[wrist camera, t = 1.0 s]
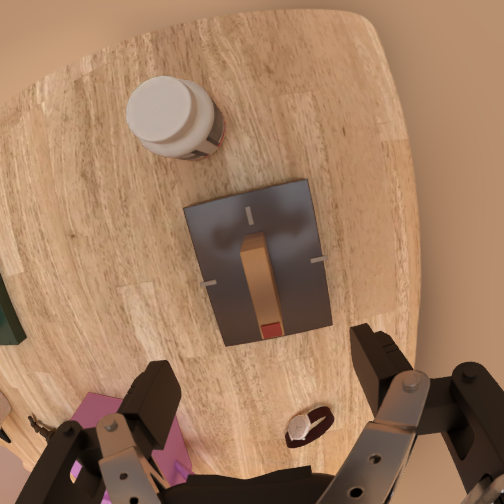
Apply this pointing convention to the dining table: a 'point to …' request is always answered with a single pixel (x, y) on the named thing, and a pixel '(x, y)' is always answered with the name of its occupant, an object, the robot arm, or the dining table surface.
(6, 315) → the switch box
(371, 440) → the robot arm
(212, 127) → the pill bottle
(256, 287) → the handle
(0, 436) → the cell phone
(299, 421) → the watch
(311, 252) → the panel
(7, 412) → the vase
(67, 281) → the dining table surface
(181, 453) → the teapot
